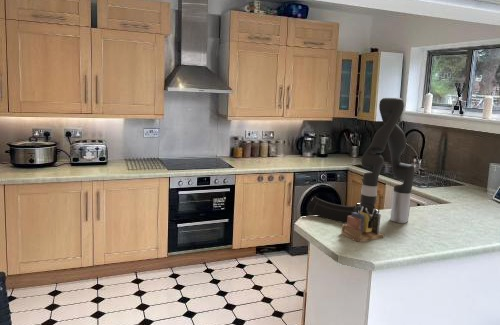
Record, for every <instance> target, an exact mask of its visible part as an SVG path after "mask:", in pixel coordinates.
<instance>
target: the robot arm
mask: <svg viewBox="0 0 500 325" xmlns="http://www.w3.org/2000/svg"><path fill="white" fill-rule="evenodd" d="M378 106H379V107H378V109H379V114H380V117H381V120H382V122H383V125H382V126H381V127H380V128H378V129H377V131H376V132H375V133H374V135H373V138H372V141H371V143H370V145H369V147H368V148H367V149H366V151H365V152H364V153H363V155H362V156H361V158H360V159H361V161H360V163H361V165H362V167H364V168H367V169H368V168H369V169H373V170H372V172H365V173H363V178H362V186H361V191H360V198H359V199H360V202H358V203H355V206H356V212H357V213H360V212H364V213H366V214H368V217H369V222H368V228H369V229H370V228H372V227H373V221H377V218H378V214H380V210H379V209H376V206H375V205H376V203H377V197H378V196H377V195H378V184H379V182H378V181H379V176H380V173H381V171H382V169H383V166H384V162H385V159H384V157H383V155H380V154H379V153H383V152H384V151H385V150H386V146H387V145H388V150H389V154H390V159H391V171H392V175H393V177H394V178H395V179H397V180H402V181H403V183H401V184H396V185H394V186H393V192H392V201H391V208H390V209H391V210H390V217H389V220H390V221H391V222H394V223H398V224H406V223H407V222H409V220H410V219H409V218H410V209H411V204H410V203H411V202H410V201H411V196H412V195H411V194H412V193H411V192H412V189H413V185H414V179H415V173H416V169H415V168H416V167H415V166H414V165H412V164H410V163H409V164H408V163H404V162H402V160H401V156H402V154H403V153H404V152H405V149H406V147H407V138H406V134H405V132H404V131H403V129H402V128H401V127H400V126H399V125H398V122H399V120H400V118H401V116H402V115H403V112H404V108H405V103H404V100H403V99H402V98H401V97H382V98H381V99H380V100H379V104H378ZM370 214H372V215H370ZM371 216H372V219H371Z"/></svg>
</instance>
